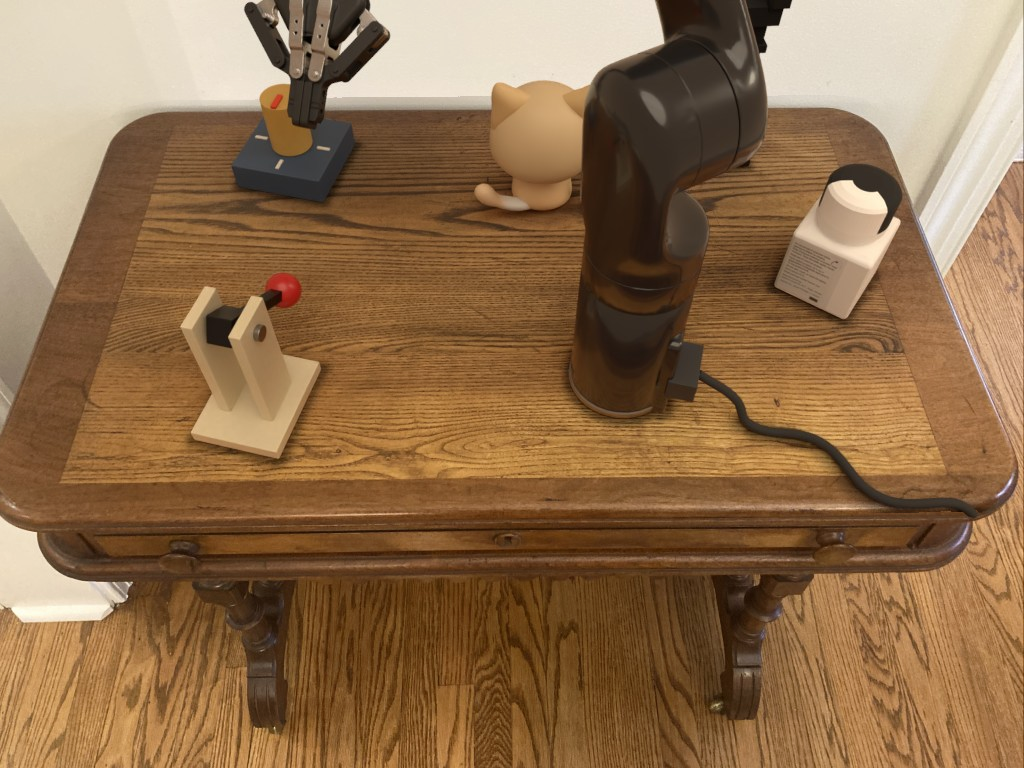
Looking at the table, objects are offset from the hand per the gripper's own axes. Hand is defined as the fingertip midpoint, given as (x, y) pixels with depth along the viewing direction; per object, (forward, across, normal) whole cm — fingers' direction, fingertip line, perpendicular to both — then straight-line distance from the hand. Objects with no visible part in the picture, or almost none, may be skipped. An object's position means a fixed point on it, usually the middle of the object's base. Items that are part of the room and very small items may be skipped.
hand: (304, 127), depth 75 cm
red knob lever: (+17, 0, -4) cm, 18 cm away
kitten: (+2, +19, +22) cm, 29 cm away
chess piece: (-8, +35, +31) cm, 47 cm away
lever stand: (+25, 0, -2) cm, 25 cm away
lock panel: (+3, -9, +20) cm, 22 cm away
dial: (+1, -9, +18) cm, 20 cm away
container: (+5, +49, +18) cm, 53 cm away
